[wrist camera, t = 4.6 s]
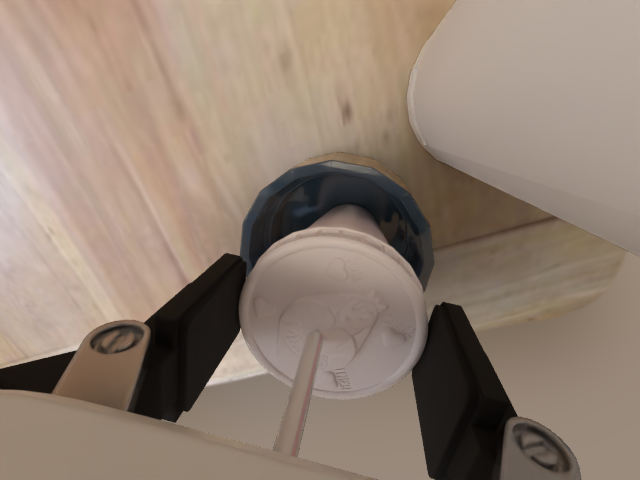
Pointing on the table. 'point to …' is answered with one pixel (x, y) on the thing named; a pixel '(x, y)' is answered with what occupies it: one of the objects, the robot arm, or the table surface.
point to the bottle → (539, 105)
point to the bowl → (333, 190)
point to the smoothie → (333, 314)
